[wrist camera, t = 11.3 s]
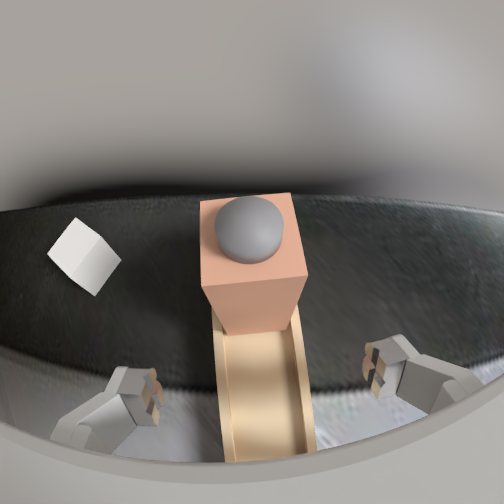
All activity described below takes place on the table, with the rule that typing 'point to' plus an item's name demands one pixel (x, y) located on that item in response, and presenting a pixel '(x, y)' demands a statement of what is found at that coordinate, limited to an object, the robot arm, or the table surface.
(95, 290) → the white cube
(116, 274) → the table surface
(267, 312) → the pink capped carton
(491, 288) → the table surface
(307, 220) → the table surface
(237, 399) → the track
